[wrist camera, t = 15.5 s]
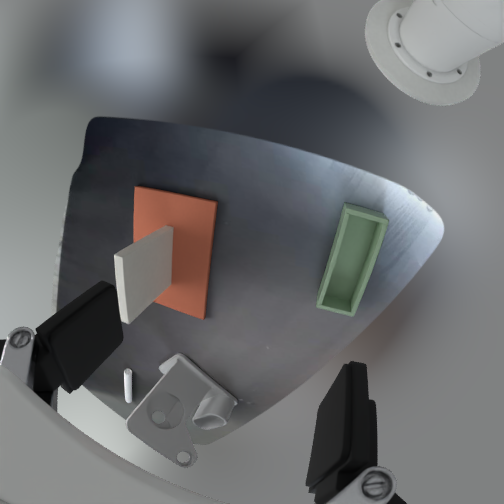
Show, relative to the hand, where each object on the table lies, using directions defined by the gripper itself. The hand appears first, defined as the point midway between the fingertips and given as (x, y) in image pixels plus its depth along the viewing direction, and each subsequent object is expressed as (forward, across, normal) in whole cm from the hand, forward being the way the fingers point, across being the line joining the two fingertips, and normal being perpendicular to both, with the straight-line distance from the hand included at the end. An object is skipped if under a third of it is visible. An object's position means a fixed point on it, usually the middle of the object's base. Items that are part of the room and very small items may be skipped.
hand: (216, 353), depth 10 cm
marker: (+28, +32, +57) cm, 71 cm away
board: (+26, +17, +12) cm, 34 cm away
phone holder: (+28, +11, +42) cm, 51 cm away
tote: (+27, -8, +5) cm, 29 cm away
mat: (+27, +18, +12) cm, 35 cm away
